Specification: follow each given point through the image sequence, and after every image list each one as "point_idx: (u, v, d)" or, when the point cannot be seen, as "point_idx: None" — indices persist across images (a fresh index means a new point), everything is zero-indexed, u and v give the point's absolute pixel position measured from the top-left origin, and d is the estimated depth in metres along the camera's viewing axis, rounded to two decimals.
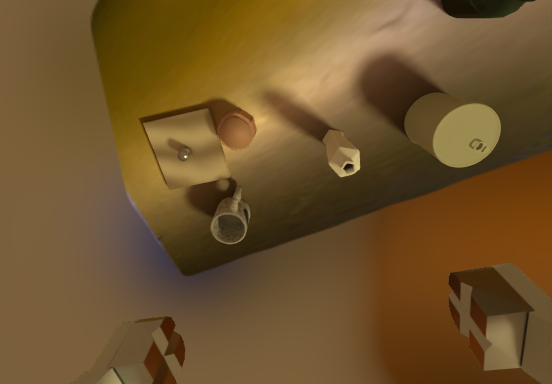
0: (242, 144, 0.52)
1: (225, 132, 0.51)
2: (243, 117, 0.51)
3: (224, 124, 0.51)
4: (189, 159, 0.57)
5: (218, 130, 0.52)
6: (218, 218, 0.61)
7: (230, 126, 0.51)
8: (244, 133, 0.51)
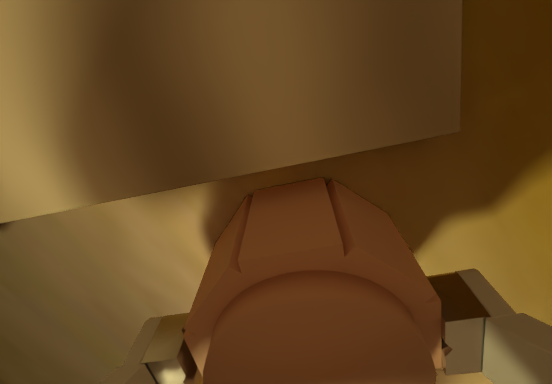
0: None
1: (329, 338, 0.06)
2: None
3: (397, 337, 0.06)
4: None
5: (333, 254, 0.06)
6: None
7: (373, 369, 0.06)
8: None
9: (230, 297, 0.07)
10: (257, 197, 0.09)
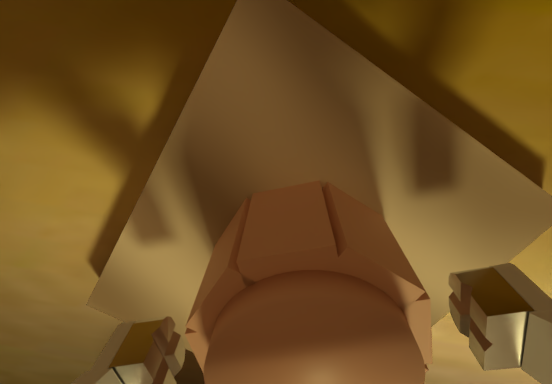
0: None
1: (323, 334, 0.06)
2: None
3: (387, 333, 0.06)
4: None
5: (327, 255, 0.07)
6: None
7: (366, 364, 0.07)
8: None
9: (229, 296, 0.07)
10: (255, 200, 0.10)
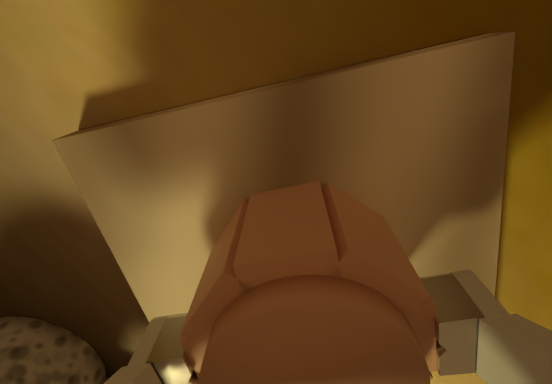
0: (213, 374, 0.07)
1: (373, 363, 0.06)
2: None
3: None
4: None
5: (415, 299, 0.07)
6: None
7: None
8: None
9: (306, 272, 0.07)
10: (334, 192, 0.09)
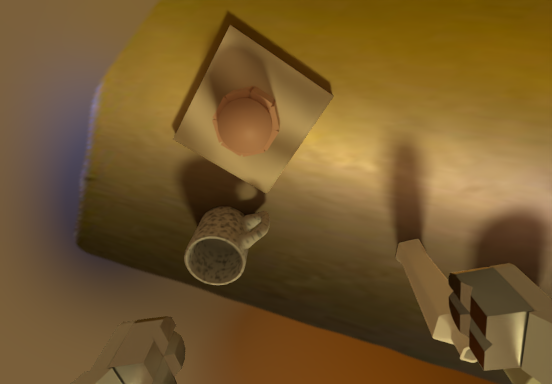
0: (221, 121, 0.28)
1: (257, 116, 0.28)
2: (254, 152, 0.30)
3: (268, 125, 0.28)
4: None
5: (269, 104, 0.28)
6: None
7: (258, 130, 0.29)
8: (233, 138, 0.29)
9: (242, 96, 0.28)
10: (256, 87, 0.31)
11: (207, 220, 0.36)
